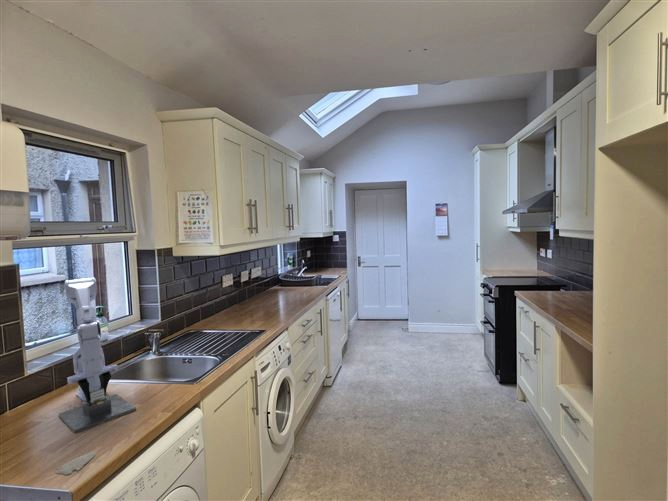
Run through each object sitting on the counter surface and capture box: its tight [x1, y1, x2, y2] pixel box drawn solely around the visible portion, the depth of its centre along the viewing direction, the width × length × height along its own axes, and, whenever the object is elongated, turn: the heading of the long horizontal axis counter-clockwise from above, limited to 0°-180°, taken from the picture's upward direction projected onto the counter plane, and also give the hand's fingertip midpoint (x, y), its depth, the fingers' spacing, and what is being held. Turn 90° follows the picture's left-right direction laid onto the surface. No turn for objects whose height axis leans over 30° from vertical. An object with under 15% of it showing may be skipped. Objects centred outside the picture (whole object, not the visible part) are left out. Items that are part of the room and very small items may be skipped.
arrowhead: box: [54, 451, 97, 476], centre depth 105 cm, size 7×2×10 cm
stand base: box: [58, 394, 137, 434], centre depth 133 cm, size 18×18×5 cm
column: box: [88, 385, 105, 405], centre depth 133 cm, size 4×4×7 cm
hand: (95, 397), depth 133 cm, fingers closed on column, 4 cm apart
